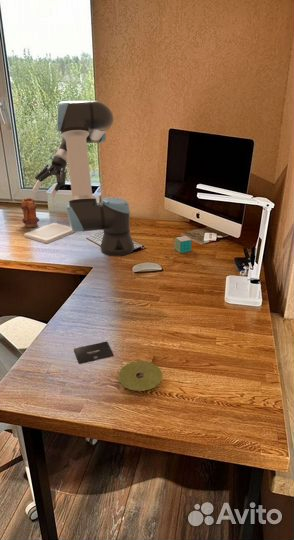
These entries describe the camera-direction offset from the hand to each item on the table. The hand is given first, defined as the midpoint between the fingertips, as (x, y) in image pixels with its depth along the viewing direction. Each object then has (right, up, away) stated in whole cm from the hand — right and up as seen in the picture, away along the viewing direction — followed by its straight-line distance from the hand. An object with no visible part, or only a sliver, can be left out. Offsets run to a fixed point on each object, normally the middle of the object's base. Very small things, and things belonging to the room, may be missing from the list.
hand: (42, 193), depth 209 cm
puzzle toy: (+71, -31, -28) cm, 82 cm away
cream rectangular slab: (+6, -22, -9) cm, 24 cm away
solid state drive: (+39, -64, -95) cm, 121 cm away
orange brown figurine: (-5, -18, 0) cm, 19 cm away
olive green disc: (+53, -69, -105) cm, 136 cm away
